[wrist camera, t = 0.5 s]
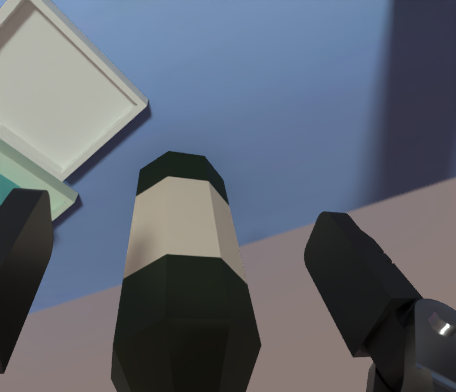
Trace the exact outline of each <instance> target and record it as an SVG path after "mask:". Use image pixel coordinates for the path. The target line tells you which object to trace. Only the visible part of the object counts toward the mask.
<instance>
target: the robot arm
mask: <svg viewBox="0 0 456 392" xmlns="http://www.w3.org/2000/svg"><path fill="white" fill-rule="evenodd" d="M52 248H53V228H52V217H51V205H50V196H49V192H48V191H47V190H40V189H26V188H13V189H12V190H11V192H10V193H9V194H8V196H7V197H6V198H5V200H4V201H3V203H2V204H1V205H0V374H3V373H4V372H5V370H6V367H7V365H8V362H9V360H10V357H11V355H12V352H13V350H14V347H15V345H16V342H17V340H18V337H19V335H20V332H21V330H22V327H23V325H24V322H25V320H26V317H27V315H28V312H29V310H30V307H31V305H32V302H33V300H34V297H35V295H36V292H37V290H38V288H39V285H40V283H41V280H42V278H43V275H44V273H45V270H46V268H47V265H48V263H49V260H50V257H51V253H52ZM304 261H305V265H306V268H307V269H308V272H309V273H310V275H311V277H312V279H313V281H314V283H315V285H316V287H317V289H318V291H319V293H320V294H321V296H322V299H323V300H324V302H325V304H326V306H327V308H328V310H329V312H330V314H331V316H332V318H333V320H334V322H335V323H336V326H337V327H338V329H339V331H340V333H341V335H342V337H343V339H344V341H345V343H346V345H347V347H348V349H349V351H350V352H351V354H352V356H353V357H371V358H372V360H373V364H372V365H371V367H370V369H369V372H368V381H367V389H366V392H456V310H454V309H453V308H451V307H449V306H448V305H446V304H444V303H441V302H439V301H436V300H432V299H423V297H422V296H421V295H420V294H419V293H418V292H417V290H416V289H415V288H414V287H413V285H412V284H411V283H410V282H409V281H408V280H407V278H406V277H405V276H404V275H403V274H402V273H401V271H400V270H399V269H398V268H397V267H396V265H395V264H392V261H391V259H390V258H389V257H388V256H387V255H386V254H384V251H383V250H382V249H381V247H380V246H379V245H378V244H377V243H376V241H375V240H374V239H372V238H371V237H369V236H368V235H367V234H366V233H364V232H363V231H362V230H361V229H360V228H359V227H358V226H357V225H356V223H355V222H354V221H353V220H352V218H351V217H350V216H349V215H348V214H346V213H338V212H322V213H321V214H320V215H319V216H318V218H317V221H316V223H315V226H314V228H313V231H312V233H311V235H310V238H309V240H308V243H307V245H306V248H305V252H304Z"/></svg>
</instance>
